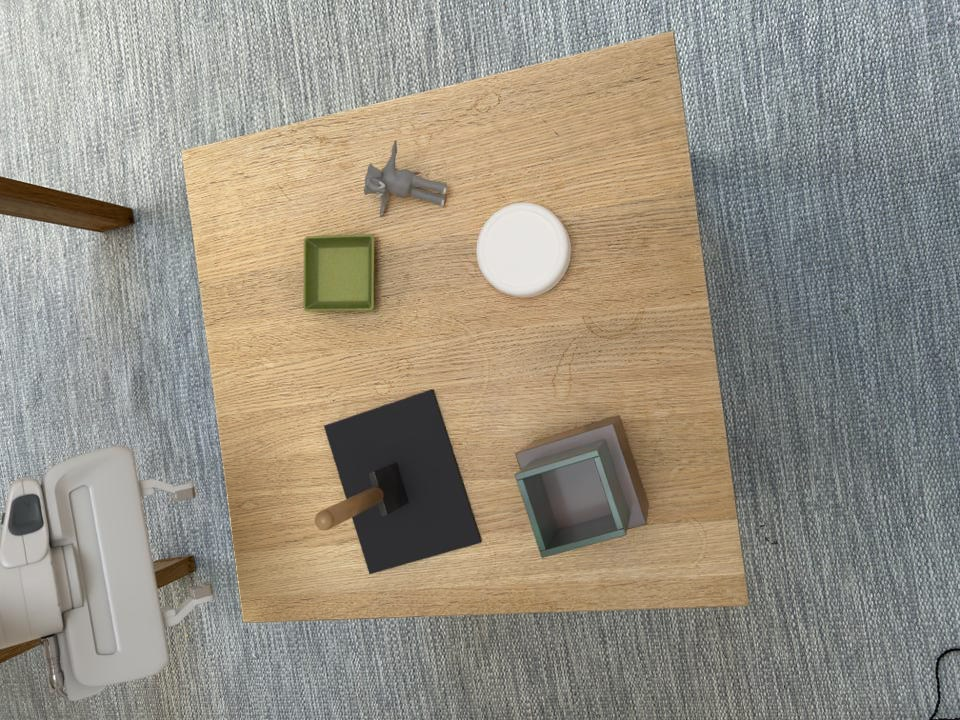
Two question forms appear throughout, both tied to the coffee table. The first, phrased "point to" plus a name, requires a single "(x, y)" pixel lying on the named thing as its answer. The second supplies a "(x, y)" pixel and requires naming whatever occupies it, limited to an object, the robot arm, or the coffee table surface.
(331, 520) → the spatula
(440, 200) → the elephant figurine
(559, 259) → the white round tub
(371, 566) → the mat
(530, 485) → the open box
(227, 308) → the coffee table surface
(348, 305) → the green square dish
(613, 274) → the coffee table surface
